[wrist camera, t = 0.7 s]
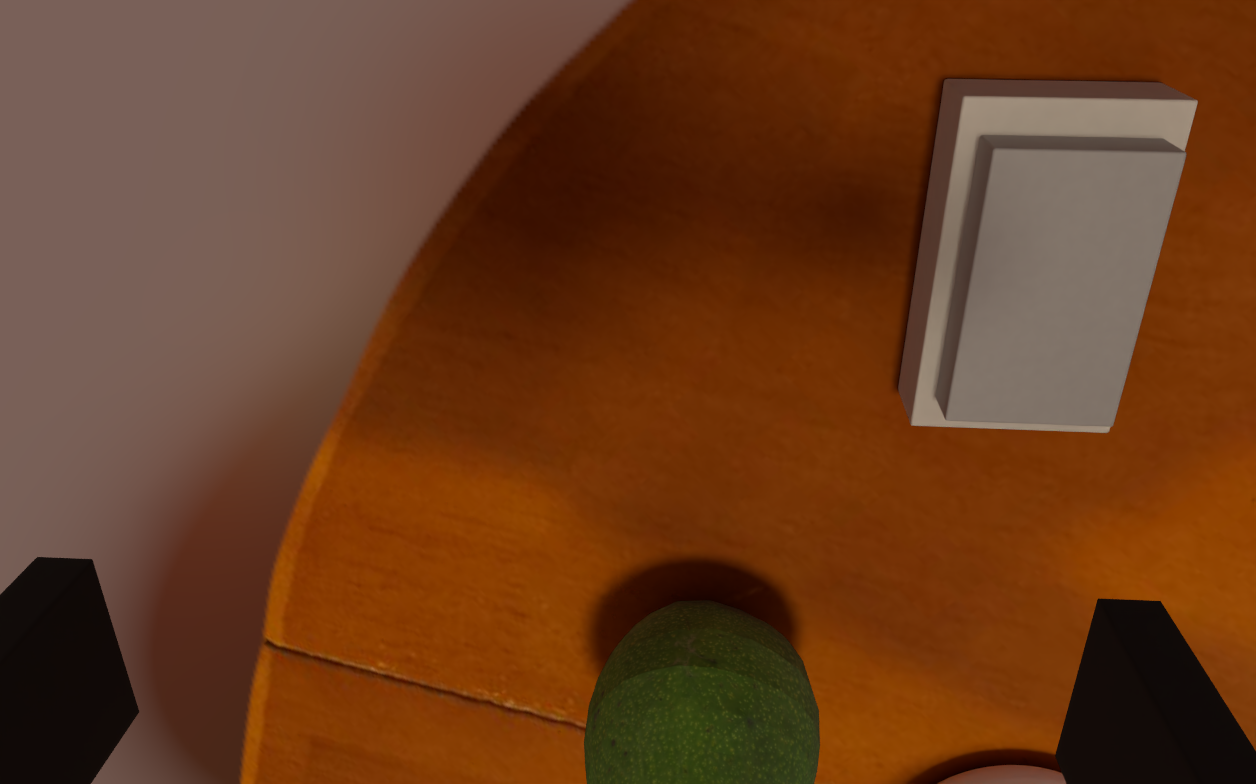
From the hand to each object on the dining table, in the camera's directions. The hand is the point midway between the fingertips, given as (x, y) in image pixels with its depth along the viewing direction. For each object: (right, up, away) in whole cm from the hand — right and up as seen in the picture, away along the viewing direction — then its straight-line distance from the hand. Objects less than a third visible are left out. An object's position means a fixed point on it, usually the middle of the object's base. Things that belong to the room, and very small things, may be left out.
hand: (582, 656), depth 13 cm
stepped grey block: (+12, +8, +17) cm, 23 cm away
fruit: (+3, -6, +25) cm, 26 cm away
